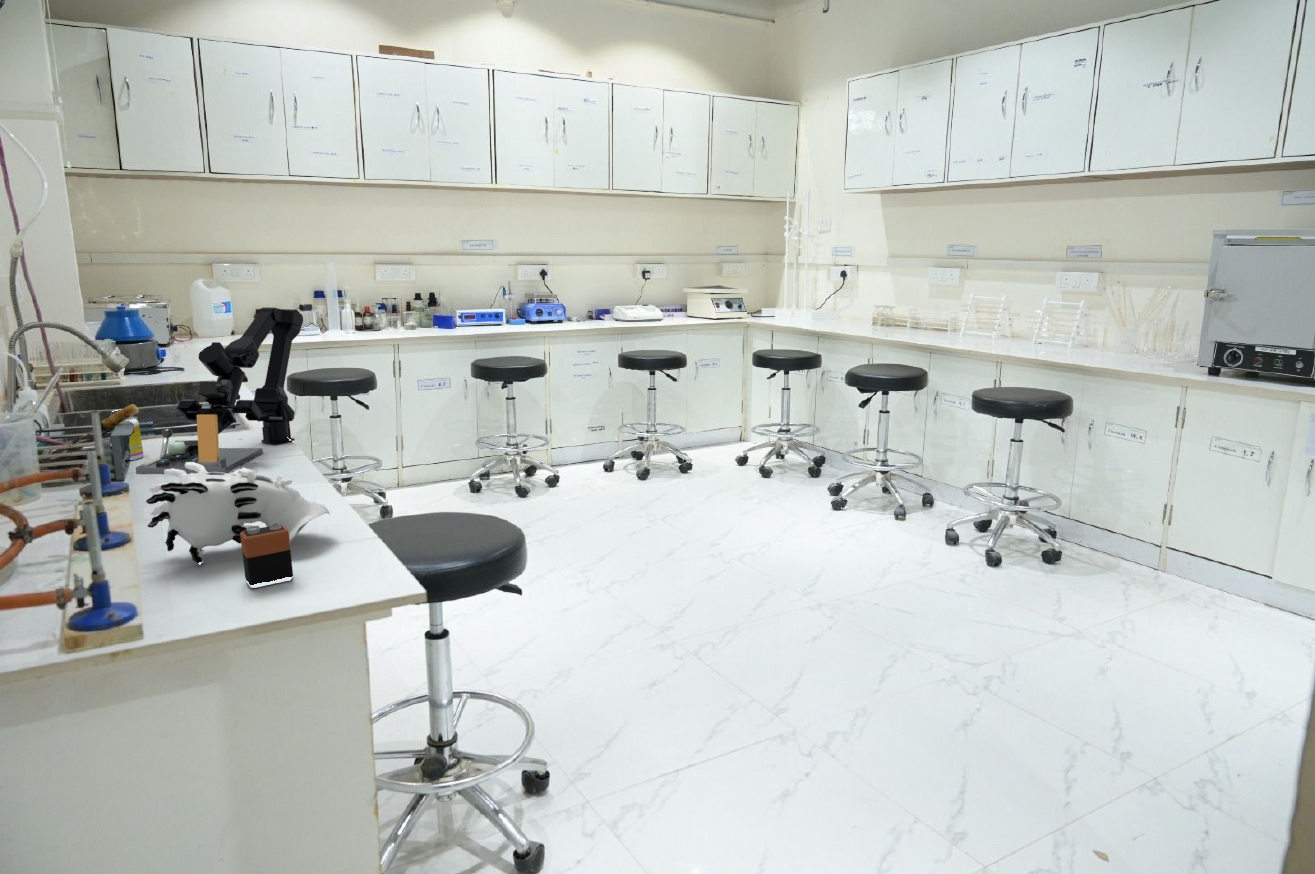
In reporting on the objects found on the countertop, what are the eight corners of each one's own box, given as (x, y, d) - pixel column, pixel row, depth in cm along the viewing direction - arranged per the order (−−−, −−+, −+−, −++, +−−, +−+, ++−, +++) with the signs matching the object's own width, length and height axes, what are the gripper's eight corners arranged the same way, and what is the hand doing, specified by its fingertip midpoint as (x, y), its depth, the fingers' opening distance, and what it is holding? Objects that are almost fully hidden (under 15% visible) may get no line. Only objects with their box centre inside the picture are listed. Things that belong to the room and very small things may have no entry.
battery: (245, 582, 141) (238, 526, 139) (287, 572, 145) (282, 518, 143) (250, 590, 138) (244, 533, 135) (294, 581, 142) (288, 525, 139)
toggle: (160, 459, 209) (165, 429, 212) (170, 459, 209) (175, 429, 212) (154, 457, 207) (160, 427, 209) (164, 457, 207) (170, 427, 209)
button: (173, 450, 216) (172, 441, 215) (188, 450, 216) (187, 441, 215) (165, 454, 212) (164, 444, 212) (180, 454, 212) (179, 444, 212)
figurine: (332, 568, 155) (142, 576, 141) (322, 540, 169) (149, 544, 155) (337, 480, 152) (144, 479, 138) (327, 459, 166) (151, 457, 152)
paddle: (200, 466, 206) (198, 414, 205) (221, 466, 206) (219, 414, 205) (197, 467, 205) (194, 414, 204) (218, 467, 205) (215, 415, 204)
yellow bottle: (149, 455, 223) (143, 408, 220) (132, 462, 216) (125, 413, 213) (126, 454, 223) (119, 407, 220) (108, 461, 217) (100, 412, 214)
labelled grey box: (189, 444, 224) (189, 439, 224) (204, 444, 224) (204, 439, 224) (174, 445, 217) (174, 440, 217) (190, 445, 217) (190, 440, 217)
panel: (182, 452, 225) (180, 439, 225) (263, 453, 225) (262, 440, 225) (134, 474, 205) (132, 459, 204) (224, 474, 205) (222, 460, 204)
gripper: (175, 367, 207) (155, 420, 199) (251, 368, 207) (233, 420, 199) (196, 393, 217) (178, 444, 208) (268, 394, 217) (253, 445, 208)
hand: (210, 438), depth 206 cm, fingers closed, pressing on paddle
